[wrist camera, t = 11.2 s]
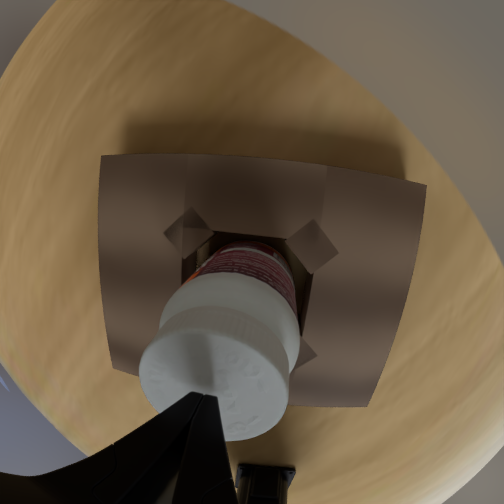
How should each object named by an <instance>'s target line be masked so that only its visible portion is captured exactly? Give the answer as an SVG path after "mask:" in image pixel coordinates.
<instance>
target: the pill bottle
mask: <svg viewBox="0 0 504 504" xmlns="http://www.w3.org/2000/svg"><path fill="white" fill-rule="evenodd" d="M299 348H300V331H299V324H298V318H297V309H296V299H295V286H294V280H293V275H292V271H291V269H290V267H289V265H288V263H287V261H286V260H285V259H284V257H283V256H282V255H281V254H280V253H279V252H278V251H276V250H275V249H274V248H272V247H270V246H268V245H266V244H264V243H261V242H258V241H252V240H241V241H236V242H232V243H229V244H227V245H225V246H223V247H222V248H220V249H219V250H218V251H216V252H215V253H214V254H213V255H212V256H211V257H210V258H209V259H208V260H207V261H205V262H204V263H203V264H202V266H201V267H200V268H198V269H197V270H196V272H195V273H194V274H192V275H191V277H189V278H188V279H187V280H186V282H185V283H184V284H183V285H182V286H181V287H180V288H179V289H178V290H177V291H176V292H175V293H174V294H173V296H172V297H171V298H170V299H169V301H168V302H167V304H166V306H165V307H164V310H163V312H162V315H161V319H160V324H159V331H158V332H157V334H156V336H155V337H154V338H153V339H152V341H151V342H150V343H149V345H148V346H147V347H146V349H145V350H144V352H143V354H142V357H141V360H140V364H139V378H140V383H141V387H142V389H143V392H144V393H145V395H146V397H147V399H148V400H149V402H150V403H151V404H152V406H153V407H154V408H155V409H156V410H157V411H158V412H159V413H161V412H162V411H164V410H165V409H167V408H168V407H170V406H171V405H172V404H174V403H175V402H177V401H178V400H179V399H181V398H182V397H184V396H185V395H186V394H188V393H189V392H191V391H194V392H199V393H203V394H204V395H205V394H208V395H214V396H217V397H218V402H219V408H220V414H221V420H222V426H223V431H224V437H225V441H239V440H245V439H249V438H253V437H256V436H258V435H261V434H263V433H265V432H267V431H268V430H270V429H271V428H272V427H273V426H275V425H276V424H277V423H278V422H279V420H280V419H281V418H282V416H283V414H284V412H285V410H286V407H287V404H288V398H289V374H290V372H291V371H292V369H293V368H294V366H295V363H296V361H297V358H298V354H299Z"/></svg>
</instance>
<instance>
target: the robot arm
mask: <svg viewBox="0 0 504 504" xmlns="http://www.w3.org/2000/svg"><path fill="white" fill-rule="evenodd" d="M295 473H296V470H295V469H293V468H277V467H265V466H256V465H248V464H239V465H238V468H237V476H236V483H235V485H234V481H233V479H232V472H231V467H230V463H229V458H228V453H227V447H226V442H225V437H224V431H223V426H222V420H221V414H220V408H219V402H218V397H217V396H214V395H208V394H205V395H204V394H203V393H199V392H194V391H191V392H189V393H188V394H186V395H185V396H184V397H182V398H181V399H179V400H178V401H177V402H175V403H174V404H172V405H171V406H170V407H168V408H167V409H165V410H164V411H162V412H161V413H159V414H158V415H156V416H155V417H154V418H152V419H151V420H149V421H148V422H146V423H145V424H143V425H141V426H140V427H138V428H137V429H135V430H134V431H132V432H131V433H129V434H127V435H126V436H124V437H123V438H121V439H120V440H118V441H116V442H115V443H114V445H113V444H111V445H110V446H108V447H106V448H105V449H103V450H101V451H99V452H97V453H95V454H94V455H92V456H90V457H88V458H85V459H83V460H81V461H78V462H76V463H74V464H71V465H68V466H66V467H63V468H60V469H57V470H55V471H52V472H49V473H46V474H42V475H37V476H20V475H14V474H8V473H3V472H0V504H287V491H288V488H289V486H290V484H291V482H292V480H293V478H294V475H295ZM235 487H236V488H238V489H237V493H236V490H235Z"/></svg>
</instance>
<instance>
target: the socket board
mask: <svg viewBox="0 0 504 504" xmlns="http://www.w3.org/2000/svg"><path fill="white" fill-rule="evenodd" d="M426 188H427V185H424V184H420V183H416V182H411V181H407V180H403V179H398V178H394V177H389V176H384V175H379V174H374V173H369V172H364V171H358V170H353V169H347V168H341V167H334V166H328V165H321V164H314V163H306V162H298V161H290V160H280V159H270V158H259V157H247V156H232V155H212V154H122V155H103V156H101V164H100V177H99V196H98V251H99V270H100V283H101V294H102V303H103V312H104V319H105V326H106V333H107V339H108V345H109V351H110V356H111V361H112V366H113V368H114V369H117V370H120V371H123V372H126V373H129V374H132V375H136V376H139V364H140V360H141V357H142V354H143V352H144V350H145V349H146V347H147V346H148V345H149V343H150V342H151V341H152V339H153V338H154V337H155V336H156V334H157V332H158V331H159V324H160V319H161V315H162V312H163V310H164V307H165V306H166V304H167V302H168V301H169V299H170V298H171V297H172V296H173V294H174V293H175V292H176V291H177V290H178V289H179V288H180V287H181V286H182V285H183V284H184V283H185V282H186V280H187V279H188V278H189V277H191V275H192V274H194V273H195V272H196V255H197V250H198V249H199V248H200V247H201V246H203V245H204V244H205V243H206V242H207V241H208V240H210V239H211V238H212V237H213V236H214V235H215V234H217V233H218V232H219V231H222V232H232V233H241V234H250V235H259V236H268V237H277V238H284V241H285V243H286V244H287V245H288V246H289V248H290V249H291V250H292V252H293V253H294V254H295V255H296V257H297V258H298V259H299V260H300V262H301V263H302V264H303V265H304V267H305V268H306V269H307V277H306V283H305V289H304V295H303V301H302V307H301V313H300V316H299V315H297V318H298V324H299V331H300V348H299V354H298V358H297V361H296V363H295V366H294V368H293V369H292V371H291V372H290V374H289V398H288V404H287V405H297V406H315V407H367V406H368V404H369V401H370V399H371V397H372V395H373V393H374V390H375V388H376V386H377V383H378V381H379V378H380V376H381V373H382V371H383V368H384V366H385V363H386V361H387V358H388V355H389V352H390V350H391V347H392V344H393V341H394V338H395V335H396V332H397V329H398V326H399V323H400V319H401V316H402V313H403V309H404V306H405V302H406V298H407V295H408V291H409V287H410V283H411V279H412V274H413V270H414V265H415V261H416V256H417V251H418V245H419V240H420V234H421V228H422V221H423V214H424V206H425V198H426Z"/></svg>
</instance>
